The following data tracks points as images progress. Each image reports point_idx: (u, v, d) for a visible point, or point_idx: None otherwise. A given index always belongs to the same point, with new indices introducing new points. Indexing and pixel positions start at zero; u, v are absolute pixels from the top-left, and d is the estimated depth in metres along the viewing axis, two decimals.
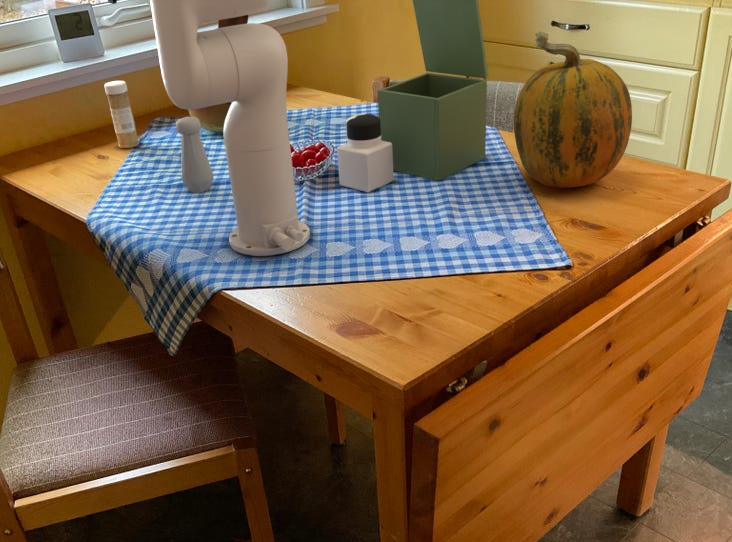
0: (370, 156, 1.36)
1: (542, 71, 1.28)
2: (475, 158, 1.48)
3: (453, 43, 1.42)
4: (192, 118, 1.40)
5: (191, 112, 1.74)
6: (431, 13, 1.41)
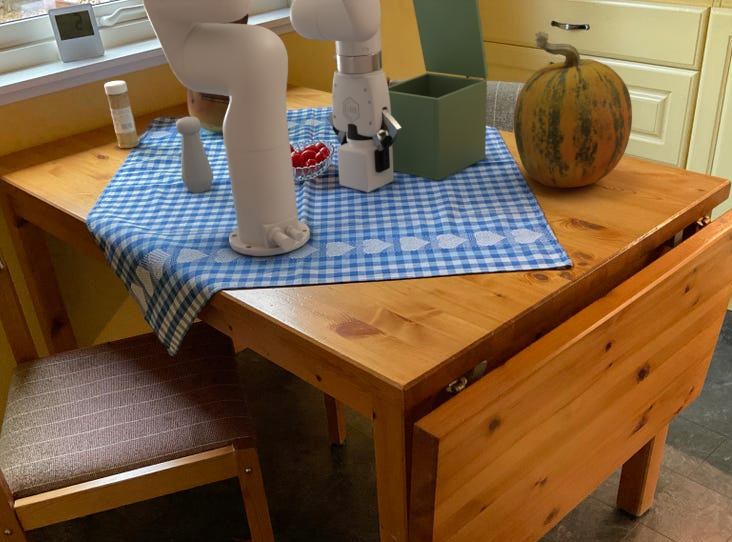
0: (370, 156, 1.36)
1: (542, 71, 1.28)
2: (475, 158, 1.48)
3: (453, 43, 1.42)
4: (192, 118, 1.40)
5: (191, 112, 1.74)
6: (431, 13, 1.41)
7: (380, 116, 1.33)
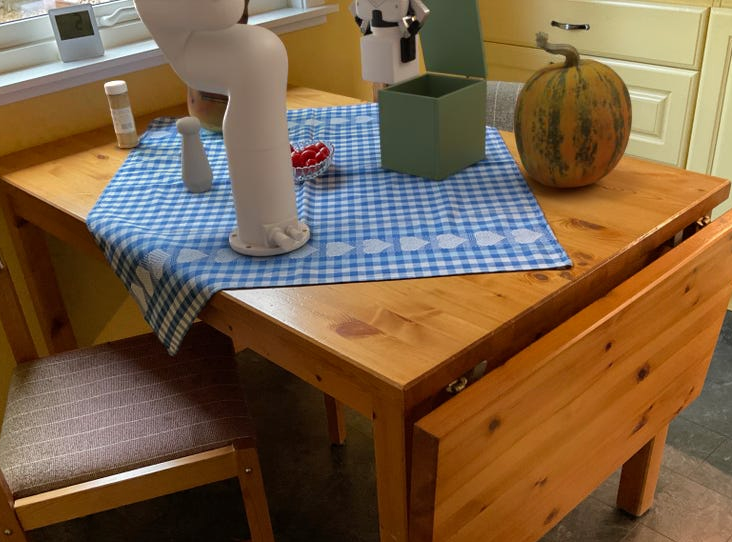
0: (396, 44, 1.30)
1: (542, 71, 1.28)
2: (475, 158, 1.48)
3: (453, 43, 1.42)
4: (192, 118, 1.40)
5: (191, 112, 1.74)
6: (431, 13, 1.41)
7: None
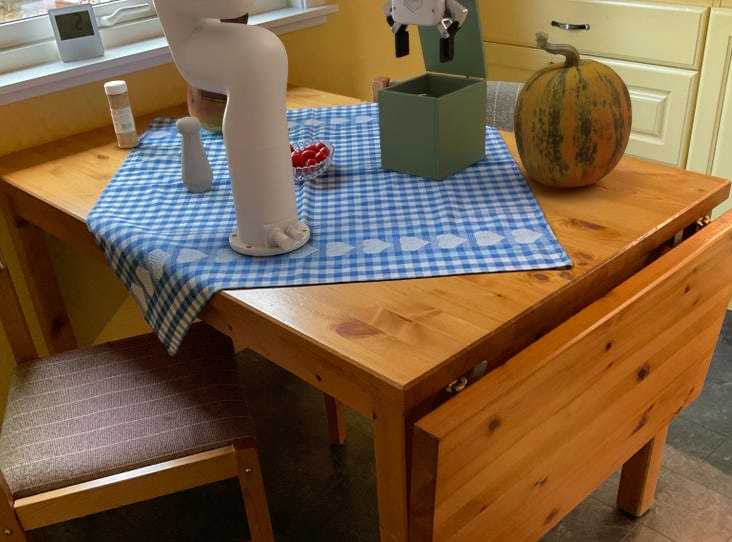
0: None
1: (542, 71, 1.28)
2: (475, 158, 1.48)
3: None
4: (192, 118, 1.40)
5: (191, 112, 1.74)
6: None
7: (443, 4, 1.30)
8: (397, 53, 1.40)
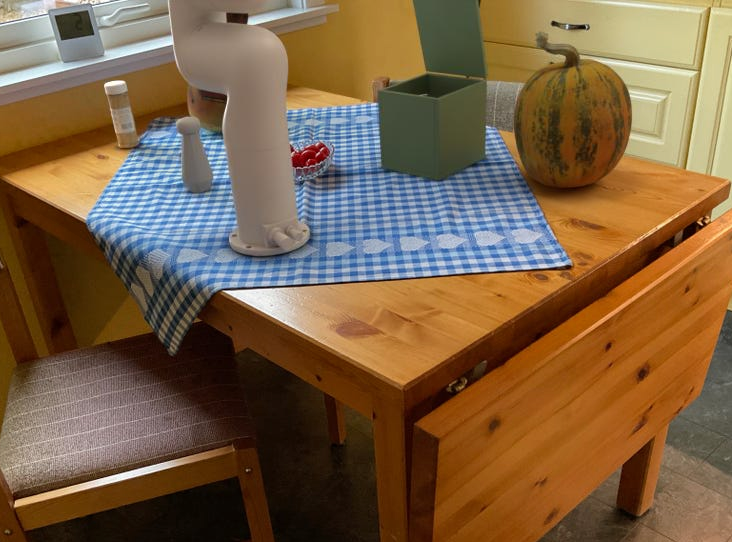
0: None
1: (542, 71, 1.28)
2: (475, 158, 1.48)
3: (453, 43, 1.42)
4: (192, 118, 1.40)
5: (191, 112, 1.74)
6: (431, 13, 1.41)
7: None
8: None
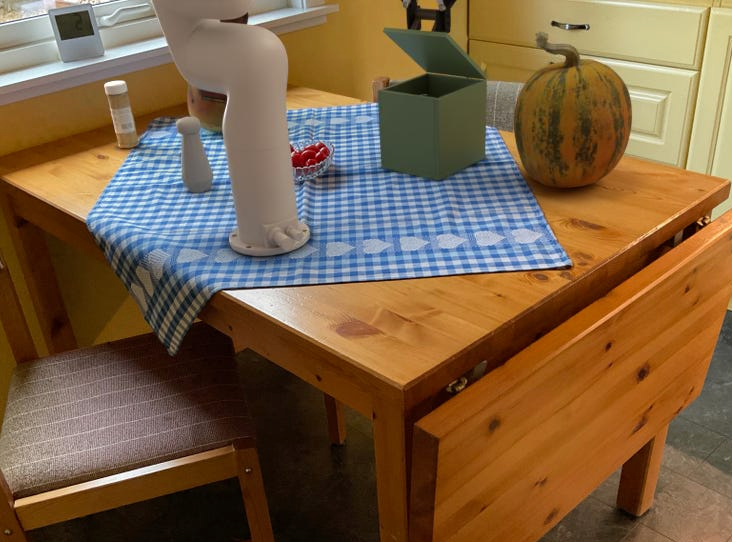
0: None
1: (542, 71, 1.28)
2: (475, 158, 1.48)
3: (443, 60, 1.42)
4: (192, 118, 1.40)
5: (191, 112, 1.74)
6: (411, 44, 1.40)
7: None
8: (409, 29, 1.38)
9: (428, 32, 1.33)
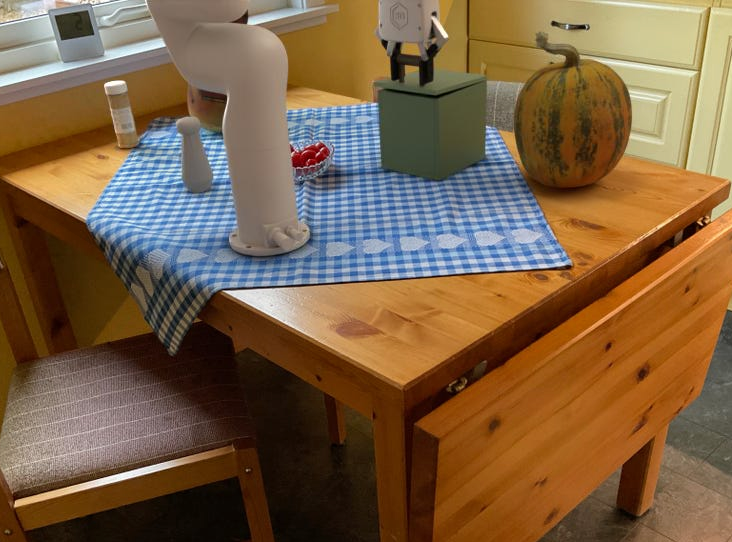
0: None
1: (542, 71, 1.28)
2: (475, 158, 1.48)
3: None
4: (192, 118, 1.40)
5: (191, 112, 1.74)
6: None
7: (430, 21, 1.29)
8: (393, 77, 1.39)
9: (417, 89, 1.35)
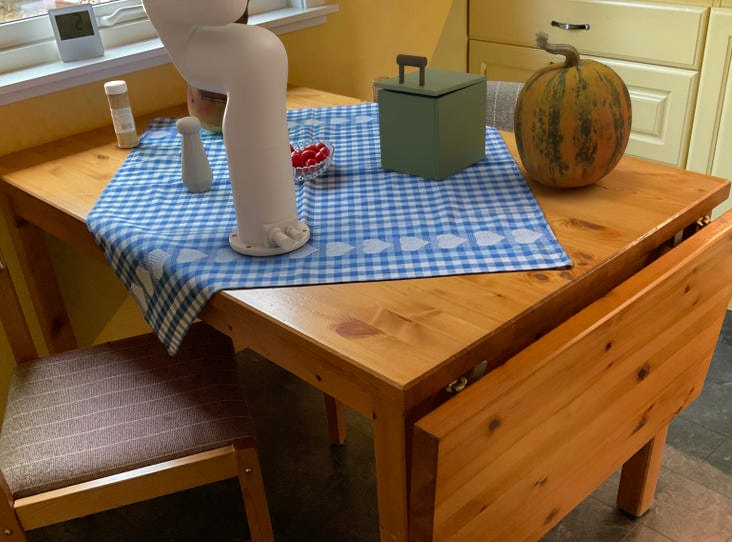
0: None
1: (542, 71, 1.28)
2: (475, 158, 1.48)
3: None
4: (192, 118, 1.40)
5: (191, 112, 1.74)
6: None
7: None
8: None
9: (417, 90, 1.35)
